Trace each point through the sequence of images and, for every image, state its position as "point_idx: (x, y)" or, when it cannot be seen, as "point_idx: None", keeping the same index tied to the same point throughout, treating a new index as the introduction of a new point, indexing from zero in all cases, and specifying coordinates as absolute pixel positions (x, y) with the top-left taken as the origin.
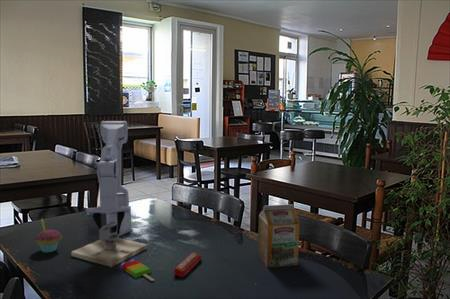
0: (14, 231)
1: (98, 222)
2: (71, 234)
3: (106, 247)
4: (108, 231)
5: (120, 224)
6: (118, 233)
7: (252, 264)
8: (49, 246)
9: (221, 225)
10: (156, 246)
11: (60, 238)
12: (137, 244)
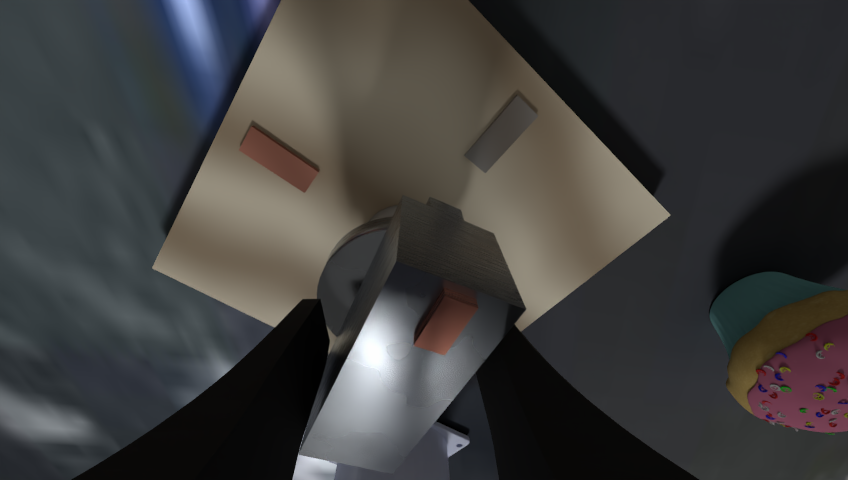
0: (813, 474)
1: (561, 417)
2: None
3: None
4: (389, 258)
5: (219, 381)
6: (304, 301)
7: None
8: (801, 289)
9: None
10: (123, 275)
11: (756, 345)
12: (224, 276)
